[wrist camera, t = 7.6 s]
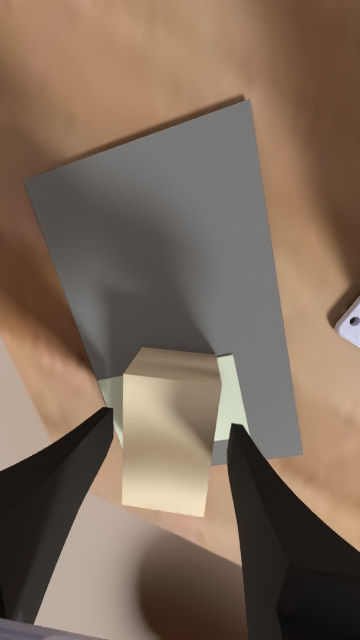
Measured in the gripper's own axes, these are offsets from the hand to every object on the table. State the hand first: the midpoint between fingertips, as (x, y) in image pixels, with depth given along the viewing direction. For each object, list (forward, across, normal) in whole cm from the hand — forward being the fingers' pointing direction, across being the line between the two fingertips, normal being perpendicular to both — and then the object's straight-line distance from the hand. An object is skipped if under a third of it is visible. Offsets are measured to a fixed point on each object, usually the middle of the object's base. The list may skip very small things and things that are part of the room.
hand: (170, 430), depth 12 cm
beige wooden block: (+2, 0, 0) cm, 2 cm away
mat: (+2, 0, -5) cm, 6 cm away
